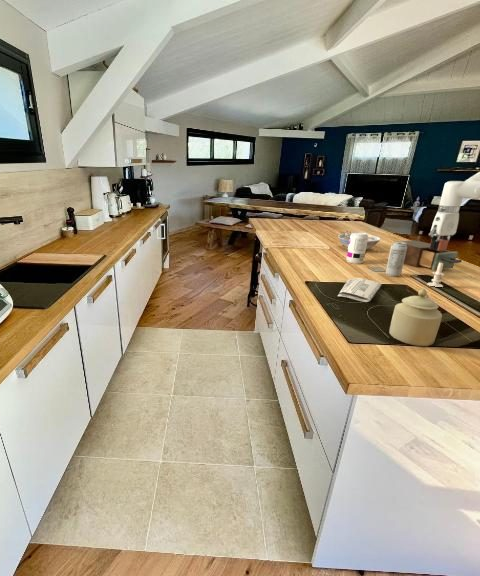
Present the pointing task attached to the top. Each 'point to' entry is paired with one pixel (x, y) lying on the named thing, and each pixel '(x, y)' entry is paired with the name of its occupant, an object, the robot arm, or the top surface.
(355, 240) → the supplement can
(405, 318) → the sugar bowl
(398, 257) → the energy drink can
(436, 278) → the white tapered tower
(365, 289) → the newspaper
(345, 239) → the ramen bowl
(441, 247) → the block
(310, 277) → the top surface
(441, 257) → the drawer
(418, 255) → the cabinet
